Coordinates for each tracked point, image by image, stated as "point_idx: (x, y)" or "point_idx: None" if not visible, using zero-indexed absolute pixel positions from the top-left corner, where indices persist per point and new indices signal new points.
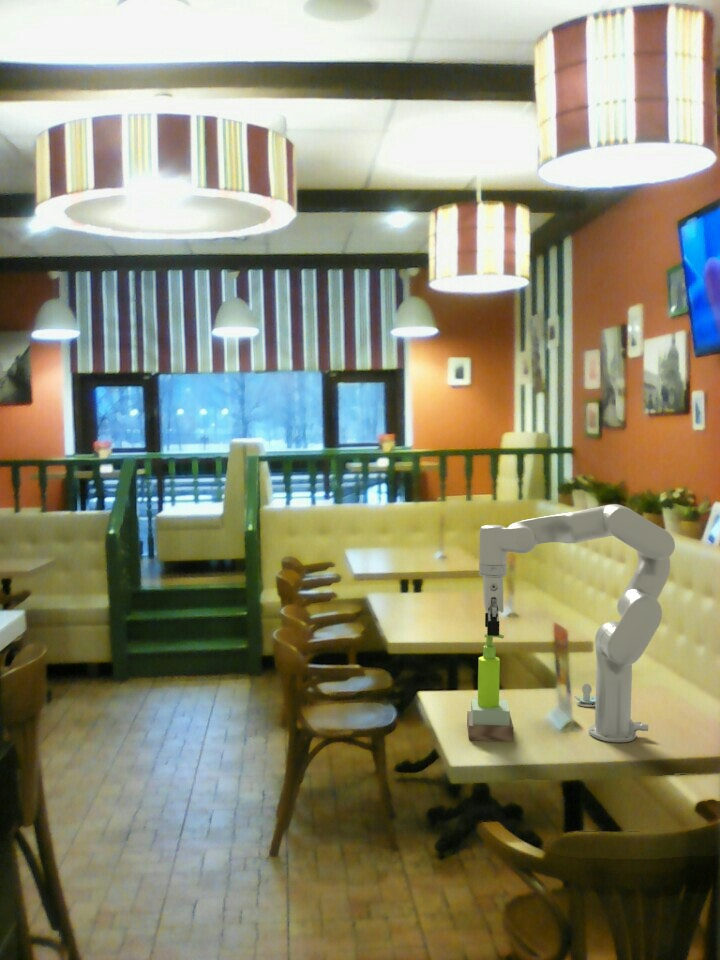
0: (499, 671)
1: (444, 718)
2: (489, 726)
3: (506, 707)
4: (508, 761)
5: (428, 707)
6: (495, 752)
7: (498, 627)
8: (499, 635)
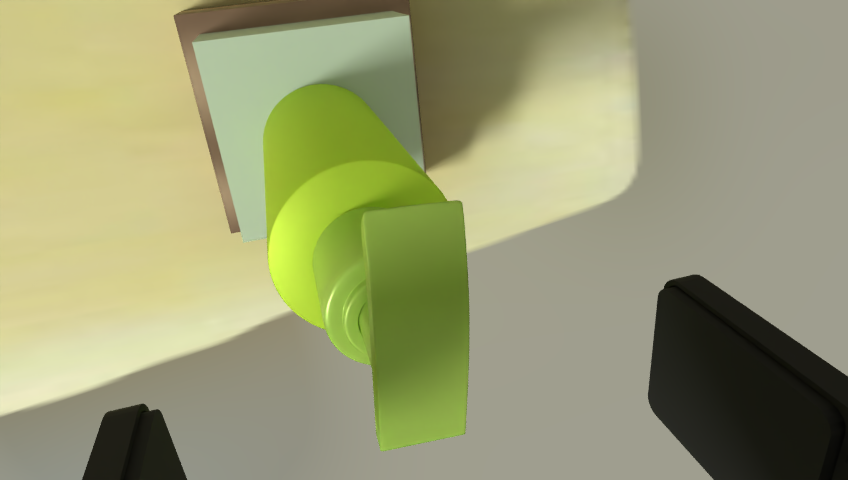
0: (360, 132)
1: (181, 308)
2: (418, 108)
3: (344, 37)
4: (605, 4)
5: (56, 396)
6: (524, 60)
7: (782, 346)
8: (445, 272)
